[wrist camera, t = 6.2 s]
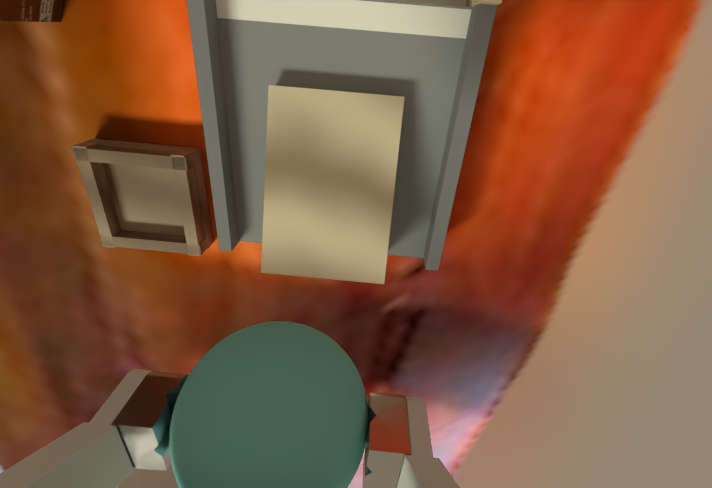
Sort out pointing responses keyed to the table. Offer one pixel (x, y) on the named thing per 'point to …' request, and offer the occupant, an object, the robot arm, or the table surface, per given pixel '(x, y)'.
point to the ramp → (329, 183)
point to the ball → (270, 412)
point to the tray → (456, 2)
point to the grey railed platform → (340, 73)
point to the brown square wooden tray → (146, 195)
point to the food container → (31, 10)
